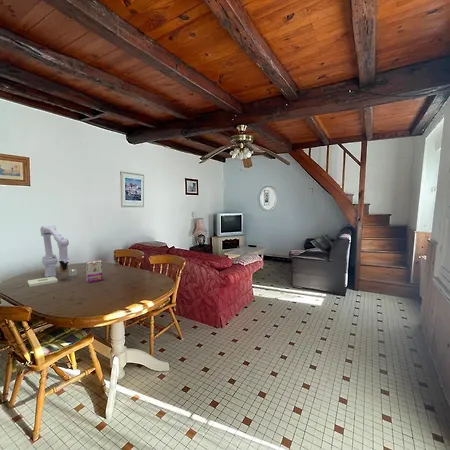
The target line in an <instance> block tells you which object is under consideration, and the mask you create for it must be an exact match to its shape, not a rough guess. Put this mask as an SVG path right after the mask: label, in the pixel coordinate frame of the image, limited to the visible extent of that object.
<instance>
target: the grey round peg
mask: <svg viewBox="0 0 450 450" xmlns="http://www.w3.org/2000/svg"><path fill="white" fill-rule="evenodd" d="M77 271H78V270H77V268H70V269H68V275H69V278H75V277H77V275H78V272H77Z"/></svg>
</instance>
